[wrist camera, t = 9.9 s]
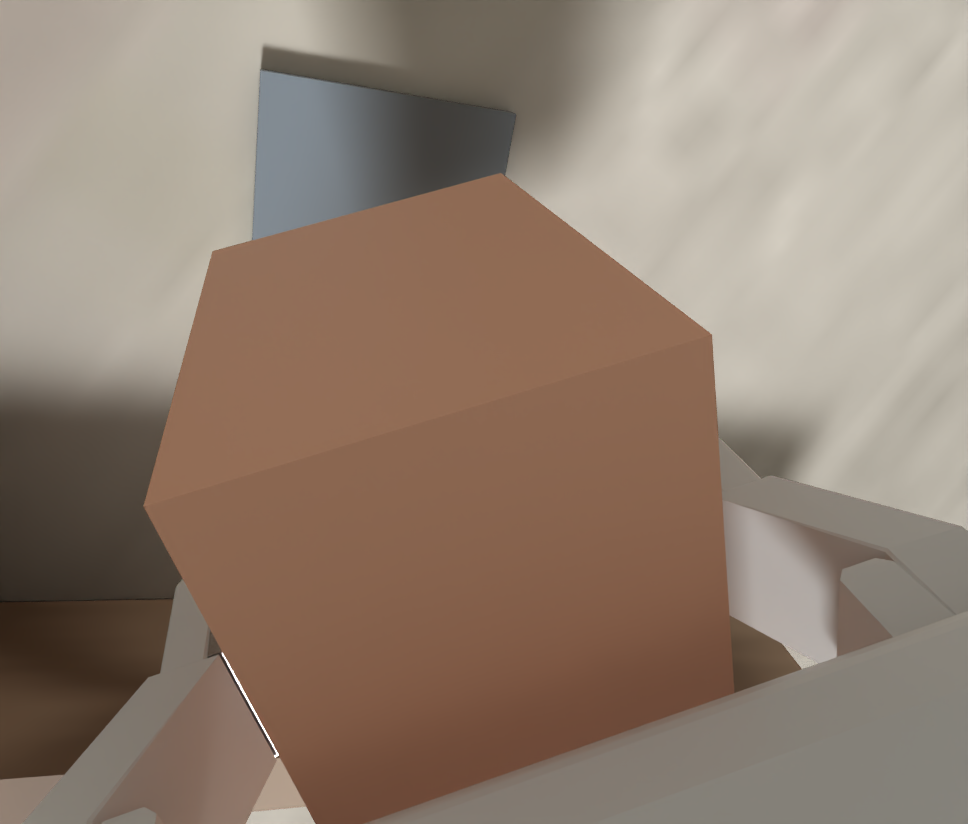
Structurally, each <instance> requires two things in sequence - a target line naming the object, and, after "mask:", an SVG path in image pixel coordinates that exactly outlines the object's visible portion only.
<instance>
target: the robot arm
mask: <svg viewBox="0 0 968 824" xmlns="http://www.w3.org/2000/svg"><path fill="white" fill-rule="evenodd" d="M718 440H719V456H720V472H721V488H722V504H723V520H724V535H725V551H726V567H727V583H728V599H729V615H730V616H732V617H734V618H736V619H738V620H739V621H741V622H743V623H745V624H747V625H749V626H750V627H752V628H754V629H756V630H758V631H760V632H761V633H763V634H765V635H767V636H769V637H771V638H772V639H774V640H776V641H778V642H780V643H782V644H783V645H785V646H787V647H789V648H791V649H793V650H795V651H796V652H798V653H800V654H802V655H804V656H806V657H807V658H809V659H811V660H813V661H815V662H817V663H818V664H816V665H813V666H810V667H807V668H804V669H801V670H799V671H796V672H793V673H790V674H787V675H784V676H781V677H779V678H776V679H773V680H770V681H767V682H764V683H761V684H759V685H756V686H753V687H750V688H747V689H744V690H741V691H739V692H736V693H733V694H730V695H727V696H724V697H721V698H719V699H716V700H713V701H710V702H707V703H704V704H701V705H699V706H696V707H693V708H690V709H687V710H684V711H681V712H679V713H676V714H673V715H670V716H667V717H664V718H661V719H659V720H656V721H653V722H650V723H647V724H644V725H641V726H639V727H636V728H633V729H630V730H627V731H624V732H622V733H619V734H616V735H613V736H610V737H607V738H605V739H602V740H599V741H596V742H593V743H590V744H588V745H585V746H582V747H579V748H576V749H573V750H571V751H568V752H565V753H562V754H559V755H556V756H554V757H551V758H548V759H545V760H542V761H540V762H537V763H534V764H531V765H528V766H525V767H523V768H520V769H517V770H514V771H511V772H508V773H506V774H503V775H500V776H497V777H494V778H491V779H489V780H486V781H483V782H480V783H477V784H474V785H472V786H469V787H466V788H463V789H460V790H457V791H455V792H452V793H449V794H446V795H443V796H440V797H438V798H435V799H432V800H429V801H426V802H423V803H421V804H418V805H415V806H412V807H409V808H406V809H404V810H401V811H398V812H395V813H392V814H390V815H387V816H384V817H381V818H378V819H375V820H373V821H370V822H367V823H364V824H968V531H967V530H966V529H964V528H963V527H962V526H958V525H955V524H951V523H947V522H943V521H940V520H936V519H932V518H929V517H925V516H921V515H917V514H914V513H910V512H906V511H903V510H899V509H895V508H891V507H888V506H884V505H880V504H877V503H873V502H869V501H865V500H862V499H858V498H854V497H851V496H847V495H843V494H839V493H836V492H832V491H828V490H825V489H821V488H817V487H813V486H810V485H806V484H802V483H799V482H795V481H791V480H787V479H784V478H780V477H776V476H773V475H770V476H767V477H764V478H760V477H759V476H758V475H757V474H756V473H755V472H754V471H753V470H752V469H751V468H750V467H749V466H748V465H747V464H746V463H745V462H744V461H743V460H742V459H741V458H740V457H739V456H738V455H737V454H736V453H735V452H734V451H733V450H732V449H730V448H729V447H728V446H727V445H726V444H725V443H724V442H723V441H722V440H721V439H720V438H719V437H718ZM276 756H279V755H278V753H277V752H276V750H275V748H274V746H273V744H272V742H271V741H270V739H269V737H268V735H267V733H266V731H265V729H264V728H263V726H262V724H261V722H260V720H259V718H258V717H257V715H256V713H255V711H254V709H253V707H252V706H251V704H250V702H249V700H248V698H247V696H246V695H245V693H244V691H243V689H242V687H241V685H240V683H239V682H238V680H237V678H236V676H235V674H234V672H233V671H232V669H231V667H230V665H229V663H228V661H227V660H226V658H225V656H224V654H223V652H222V650H221V649H220V647H219V645H218V643H217V641H216V639H215V637H214V636H213V634H212V632H211V630H210V628H209V626H208V625H207V623H206V621H205V619H204V617H203V615H202V614H201V612H200V610H199V608H198V606H197V604H196V602H195V601H194V599H193V597H192V595H191V593H190V591H189V590H188V588H187V586H186V584H185V582H184V580H183V579H182V580H181V581H180V582H179V583H178V585H177V586H176V589H175V594H174V600H173V605H172V611H171V616H170V622H169V627H168V632H167V638H166V643H165V649H164V654H163V660H162V665H161V671H160V674H157V675H154V676H151V677H148V678H147V679H146V681H145V682H144V683H143V684H142V685H141V686H140V688H139V689H138V690H137V691H136V692H135V693H134V695H133V696H132V697H131V698H130V699H129V700H128V701H127V703H126V704H125V705H124V706H123V707H122V708H121V710H120V711H119V712H118V713H117V714H116V715H115V717H114V718H113V719H112V720H111V721H110V722H109V724H108V725H107V726H106V727H105V728H104V729H103V731H102V732H101V733H100V734H99V735H98V736H97V737H96V739H95V740H94V741H93V742H92V743H91V744H90V746H89V747H88V748H87V749H86V750H85V751H84V753H83V754H82V755H81V756H80V757H79V758H78V760H77V761H76V762H75V763H74V764H73V765H72V767H71V768H70V769H69V770H68V771H67V772H66V773H65V775H64V776H63V777H62V778H61V779H60V780H59V782H58V783H57V784H56V785H55V786H54V787H53V789H52V790H51V791H50V792H49V793H48V794H47V796H46V797H45V798H44V799H43V800H42V801H41V803H40V804H39V805H38V806H37V807H36V808H35V810H34V811H33V812H32V813H31V814H30V815H29V816H28V818H27V819H26V820H25V821H24V822H23V823H22V824H246V822H247V820H248V818H249V816H250V814H251V812H252V810H253V808H254V806H255V803H256V801H257V799H258V797H259V795H260V793H261V791H262V789H263V787H264V785H265V783H266V781H267V779H268V777H269V775H270V773H271V771H272V769H273V767H274V765H275V763H276V761H277V760H276V758H275V757H276Z"/></svg>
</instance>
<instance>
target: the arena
mask: <svg viewBox="0 0 968 824" xmlns="http://www.w3.org/2000/svg"><path fill="white" fill-rule="evenodd" d="M515 118H516V114H515V113H513V112H508V111H503V110H497V109H491V108H485V107H479V106H473V105H468V104H462V103H456V102H450V101H444V100H438V99H432V98H427V97H421V96H415V95H409V94H403V93H397V92H392V91H386V90H380V89H374V88H368V87H362V86H356V85H351V84H345V83H339V82H333V81H327V80H321V79H316V78H310V77H304V76H298V75H292V74H286V73H280V72H275V71H269V70H263V69H261V70H260V91H259V112H258V133H257V154H256V175H255V196H254V217H253V238H252V240H256V239H260V238H263V237H267V236H271V235H274V234H278V233H282V232H285V231H289V230H293V229H296V228H300V227H304V226H307V225H311V224H315V223H318V222H322V221H326V220H329V219H333V218H337V217H340V216H344V215H348V214H351V213H355V212H359V211H362V210H366V209H370V208H374V207H377V206H381V205H385V204H388V203H392V202H396V201H399V200H403V199H407V198H410V197H414V196H418V195H421V194H425V193H429V192H432V191H436V190H440V189H443V188H447V187H451V186H454V185H458V184H462V183H465V182H469V181H473V180H476V179H480V178H484V177H487V176H491V175H495V174H499V173H502V174H503V175H504V176H505V173H506V167H507V162H508V156H509V151H510V145H511V140H512V135H513V129H514V124H515ZM173 600H174V599H155V600H102V601H49V602H0V824H22V823H23V822H24V821H25V820H26V819H27V818H28V816H29V815H30V814H31V813H32V812H33V811H34V810H35V808H36V807H37V806H38V805H39V804H40V803H41V801H42V800H43V799H44V798H45V797H46V796H47V794H48V793H49V792H50V791H51V790H52V789H53V787H54V786H55V785H56V784H57V783H58V782H59V780H60V779H61V778H62V777H63V776H64V775H65V773H66V772H67V771H68V770H69V769H70V768H71V767H72V765H73V764H74V763H75V762H76V761H77V760H78V758H79V757H80V756H81V755H82V754H83V753H84V751H85V750H86V749H87V748H88V747H89V746H90V744H91V743H92V742H93V741H94V740H95V739H96V737H97V736H98V735H99V734H100V733H101V732H102V731H103V729H104V728H105V727H106V726H107V725H108V724H109V722H110V721H111V720H112V719H113V718H114V717H115V715H116V714H117V713H118V712H119V711H120V710H121V708H122V707H123V706H124V705H125V704H126V703H127V701H128V700H129V699H130V698H131V697H132V696H133V695H134V693H135V692H136V691H137V690H138V689H139V688H140V686H141V685H142V684H143V683H144V682H145V681H146V679H147V678H148V677H151V676H154V675H157V674H160V671H161V665H162V660H163V654H164V649H165V643H166V638H167V632H168V627H169V622H170V616H171V611H172V605H173ZM730 631H731V647H732V662H733V678H734V693H736V692H739V691H741V690H744V689H747V688H750V687H753V686H756V685H759V684H761V683H764V682H767V681H770V680H773V679H776V678H779V677H781V676H784V675H787V674H790V673H793V672H796V671H799V670H801V667H800V666H799V665H798V664H797V662H796V661H795V660H794V659H793V657H792V656H791V655H790V653H789V652H788V651H787V650H786V648H785V647H784V646H783V645H782V643H780V642H778V641H776V640H774V639H772V638H771V637H769V636H767V635H765V634H763V633H761V632H760V631H758V630H756V629H754V628H752V627H750V626H749V625H747V624H745V623H743V622H741V621H739V620H738V619H736V618H734V617H732V616H730ZM275 758H276V760H277V761H276V763H275V765H274V767H273V769H272V771H271V773H270V775H269V777H268V779H267V781H266V783H265V785H264V787H263V789H262V791H261V793H260V795H259V797H258V799H257V801H256V803H255V806H254V808H253V810H252V812H254V811H264V810H275V809H285V808H296V807H306V805H305V803H304V801H303V799H302V798H301V796H300V794H299V792H298V790H297V788H296V787H295V785H294V783H293V781H292V779H291V777H290V775H289V774H288V772H287V770H286V768H285V766H284V764H283V763H282V761H281V759H280V757H279V756H276V757H275Z"/></svg>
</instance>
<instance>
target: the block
mask: <svg viewBox="0 0 968 824" xmlns="http://www.w3.org/2000/svg"><path fill="white" fill-rule="evenodd" d="M143 507H144V509H145V510H146V512H147V514H148V516H149V518H150V520H151V522H152V523H153V525H154V527H155V529H156V531H157V533H158V534H159V536H160V538H161V540H162V542H163V544H164V545H165V547H166V549H167V551H168V553H169V555H170V556H171V558H172V560H173V562H174V564H175V566H176V568H177V569H178V571H179V573H180V575H181V577H182V579H183V580H184V582H185V584H186V586H187V588H188V590H189V591H190V593H191V595H192V597H193V599H194V601H195V602H196V604H197V606H198V608H199V610H200V612H201V614H202V615H203V617H204V619H205V621H206V623H207V625H208V626H209V628H210V630H211V632H212V634H213V636H214V637H215V639H216V641H217V643H218V645H219V647H220V649H221V650H222V652H223V654H224V656H225V658H226V660H227V661H228V663H229V665H230V667H231V669H232V671H233V672H234V674H235V676H236V678H237V680H238V682H239V683H240V685H241V687H242V689H243V691H244V693H245V695H246V696H247V698H248V700H249V702H250V704H251V706H252V707H253V709H254V711H255V713H256V715H257V717H258V718H259V720H260V722H261V724H262V726H263V728H264V729H265V731H266V733H267V735H268V737H269V739H270V741H271V742H272V744H273V746H274V748H275V750H276V752H277V753H278V755H279V757H280V759H281V761H282V763H283V764H284V766H285V768H286V770H287V772H288V774H289V775H290V777H291V779H292V781H293V783H294V785H295V787H296V788H297V790H298V792H299V794H300V796H301V798H302V799H303V801H304V803H305V805H306V807H307V809H308V810H309V812H310V814H311V816H312V818H313V820H314V822H315V823H316V824H364V823H367V822H370V821H373V820H375V819H378V818H381V817H384V816H387V815H390V814H392V813H395V812H398V811H401V810H404V809H406V808H409V807H412V806H415V805H418V804H421V803H423V802H426V801H429V800H432V799H435V798H438V797H440V796H443V795H446V794H449V793H452V792H455V791H457V790H460V789H463V788H466V787H469V786H472V785H474V784H477V783H480V782H483V781H486V780H489V779H491V778H494V777H497V776H500V775H503V774H506V773H508V772H511V771H514V770H517V769H520V768H523V767H525V766H528V765H531V764H534V763H537V762H540V761H542V760H545V759H548V758H551V757H554V756H556V755H559V754H562V753H565V752H568V751H571V750H573V749H576V748H579V747H582V746H585V745H588V744H590V743H593V742H596V741H599V740H602V739H605V738H607V737H610V736H613V735H616V734H619V733H622V732H624V731H627V730H630V729H633V728H636V727H639V726H641V725H644V724H647V723H650V722H653V721H656V720H659V719H661V718H664V717H667V716H670V715H673V714H676V713H679V712H681V711H684V710H687V709H690V708H693V707H696V706H699V705H701V704H704V703H707V702H710V701H713V700H716V699H719V698H721V697H724V696H727V695H730V694H733V693H734V678H733V662H732V647H731V631H730V615H729V599H728V583H727V567H726V551H725V535H724V520H723V504H722V488H721V472H720V456H719V440H718V424H717V408H716V392H715V377H714V361H713V345H712V334H710V333H709V332H708V331H706V330H705V329H704V328H703V327H701V326H700V325H699V324H697V323H696V322H695V321H693V320H692V319H691V318H689V317H688V316H687V315H686V314H684V313H683V312H682V311H680V310H679V309H678V308H676V307H675V306H674V305H673V304H671V303H670V302H669V301H667V300H666V299H665V298H663V297H662V296H661V295H659V294H658V293H657V292H656V291H654V290H653V289H652V288H650V287H649V286H648V285H646V284H645V283H644V282H643V281H641V280H640V279H639V278H637V277H636V276H635V275H633V274H632V273H631V272H629V271H628V270H627V269H626V268H624V267H623V266H622V265H620V264H619V263H618V262H616V261H615V260H614V259H613V258H611V257H610V256H609V255H607V254H606V253H605V252H603V251H602V250H601V249H599V248H598V247H597V246H596V245H594V244H593V243H592V242H590V241H589V240H588V239H586V238H585V237H584V236H583V235H581V234H580V233H579V232H577V231H576V230H575V229H573V228H572V227H571V226H569V225H568V224H567V223H566V222H564V221H563V220H562V219H560V218H559V217H558V216H556V215H555V214H554V213H553V212H551V211H550V210H549V209H547V208H546V207H545V206H543V205H542V204H541V203H539V202H538V201H537V200H536V199H534V198H533V197H532V196H530V195H529V194H528V193H526V192H525V191H524V190H523V189H521V188H520V187H519V186H517V185H516V184H515V183H513V182H512V181H511V180H509V179H508V178H507V177H506V176H504V175H503V174H502V173H499V174H495V175H491V176H487V177H484V178H480V179H476V180H473V181H469V182H465V183H462V184H458V185H454V186H451V187H447V188H443V189H440V190H436V191H432V192H429V193H425V194H421V195H418V196H414V197H410V198H407V199H403V200H399V201H396V202H392V203H388V204H385V205H381V206H377V207H374V208H370V209H366V210H362V211H359V212H355V213H351V214H348V215H344V216H340V217H337V218H333V219H329V220H326V221H322V222H318V223H315V224H311V225H307V226H304V227H300V228H296V229H293V230H289V231H285V232H282V233H278V234H274V235H271V236H267V237H263V238H260V239H256V240H252V241H249V242H245V243H241V244H237V245H234V246H230V247H226V248H223V249H219V250H215V251H213V252H212V255H211V259H210V263H209V266H208V270H207V274H206V278H205V281H204V285H203V289H202V292H201V296H200V300H199V303H198V307H197V311H196V314H195V318H194V322H193V325H192V329H191V333H190V337H189V340H188V344H187V348H186V351H185V355H184V359H183V362H182V366H181V370H180V373H179V377H178V381H177V384H176V388H175V392H174V396H173V399H172V403H171V407H170V410H169V414H168V418H167V421H166V425H165V429H164V432H163V436H162V440H161V443H160V447H159V451H158V455H157V458H156V462H155V466H154V469H153V473H152V477H151V480H150V484H149V488H148V491H147V495H146V499H145V502H144V506H143Z"/></svg>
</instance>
